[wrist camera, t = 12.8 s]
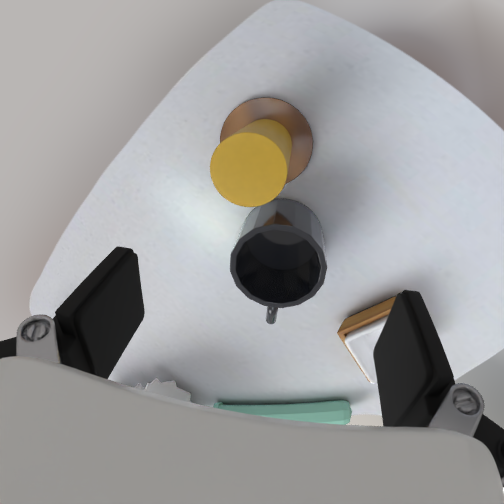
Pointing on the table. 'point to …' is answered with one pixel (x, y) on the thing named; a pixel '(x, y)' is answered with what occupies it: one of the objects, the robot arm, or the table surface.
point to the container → (298, 411)
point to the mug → (279, 256)
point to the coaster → (284, 116)
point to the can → (252, 163)
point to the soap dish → (365, 335)
